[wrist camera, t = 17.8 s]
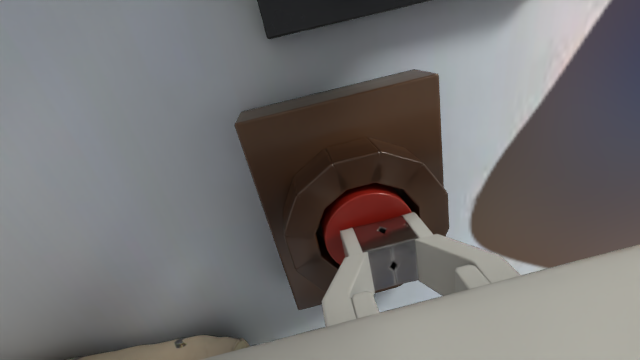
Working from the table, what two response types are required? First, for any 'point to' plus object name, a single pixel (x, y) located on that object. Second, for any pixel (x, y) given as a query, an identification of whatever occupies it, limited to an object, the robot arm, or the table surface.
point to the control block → (343, 164)
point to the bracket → (319, 13)
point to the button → (359, 213)
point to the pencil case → (174, 349)
